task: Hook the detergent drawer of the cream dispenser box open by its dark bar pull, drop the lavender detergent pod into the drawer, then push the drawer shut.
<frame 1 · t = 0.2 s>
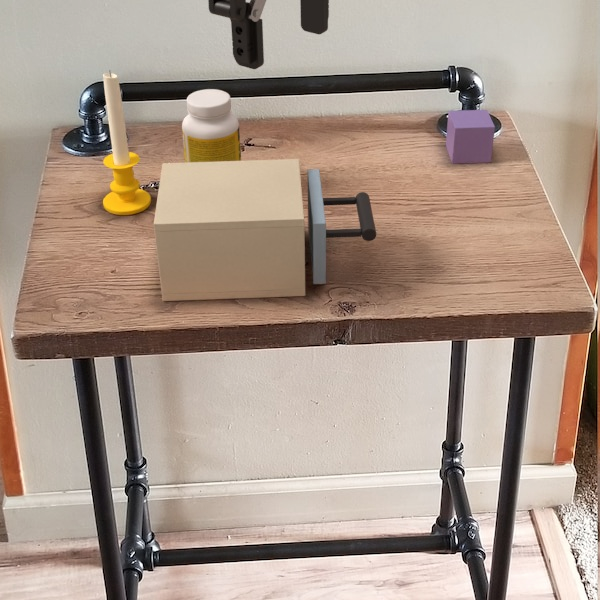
hand: (283, 48, 77), 26 cm above the table, tool pointing down, fingers open, 8 cm apart
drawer: (283, 226, 96), point 4 cm above the table, slide at 0.8 cm
candle: (127, 204, 109), on the table
pill bottle: (215, 190, 111), on the table
dispenser: (234, 264, 98), on the table
pod: (467, 154, 117), on the table
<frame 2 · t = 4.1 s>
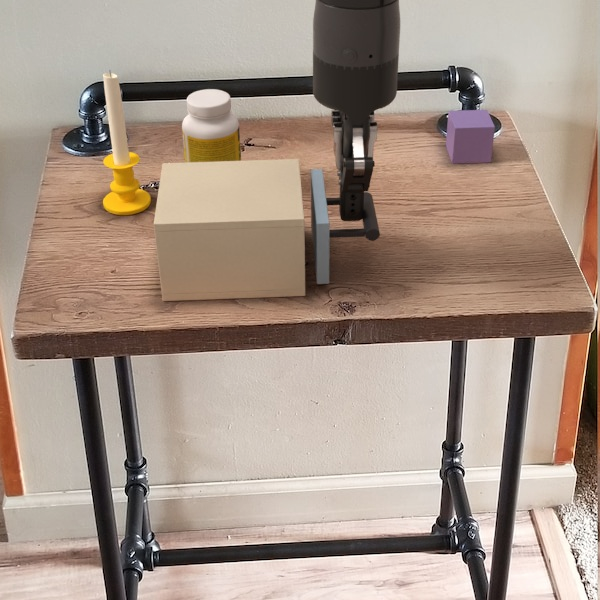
hand: (351, 216, 96), 5 cm above the table, tool pointing down, fingers closed
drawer: (287, 226, 96), point 4 cm above the table, slide at 1.1 cm, touching gripper
everything else where it was.
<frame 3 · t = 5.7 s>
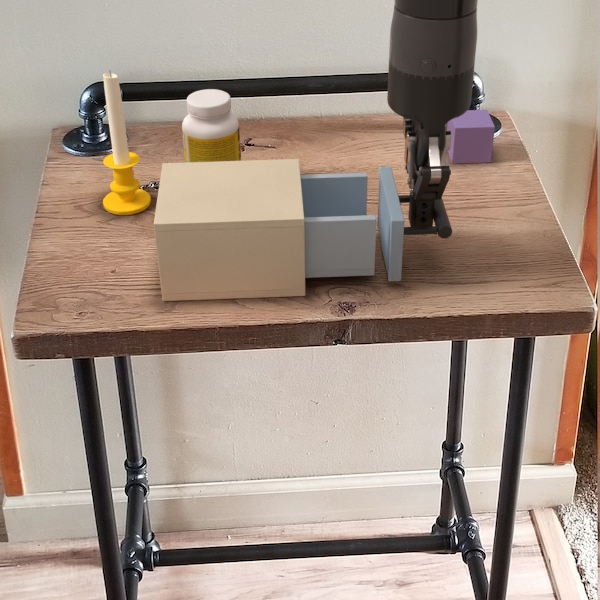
hand: (420, 224, 96), 4 cm above the table, tool pointing down, fingers closed
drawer: (357, 223, 96), point 4 cm above the table, slide at 8.0 cm, touching gripper
everything else where it was.
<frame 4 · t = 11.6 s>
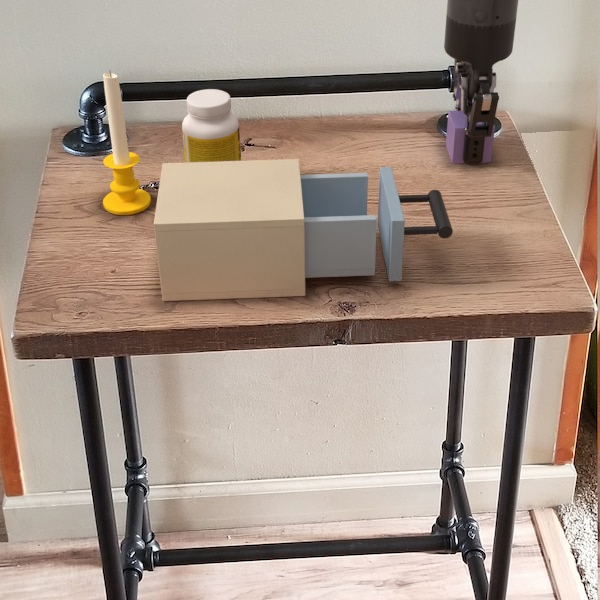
hand: (468, 151, 117), 0 cm above the table, tool pointing down, fingers closed on pod, 4 cm apart
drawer: (357, 223, 96), point 4 cm above the table, slide at 8.1 cm
pod: (467, 154, 117), on the table, touching gripper
everything else where it was.
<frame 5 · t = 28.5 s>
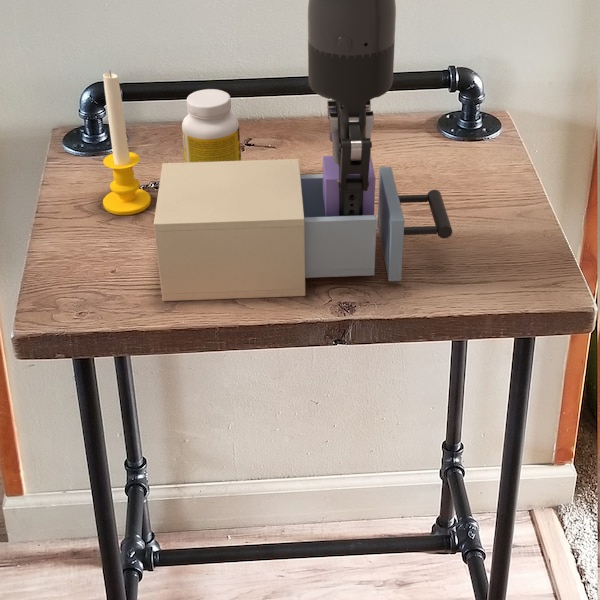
hand: (348, 205, 95), 6 cm above the table, tool pointing down, fingers closed on pod, 4 cm apart
pod: (347, 208, 95), point 6 cm above the table, touching gripper
everything else where it was.
when the fingers open (10 cm above the table, at t = 34.5 s): pod drops 7 cm, resting on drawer.
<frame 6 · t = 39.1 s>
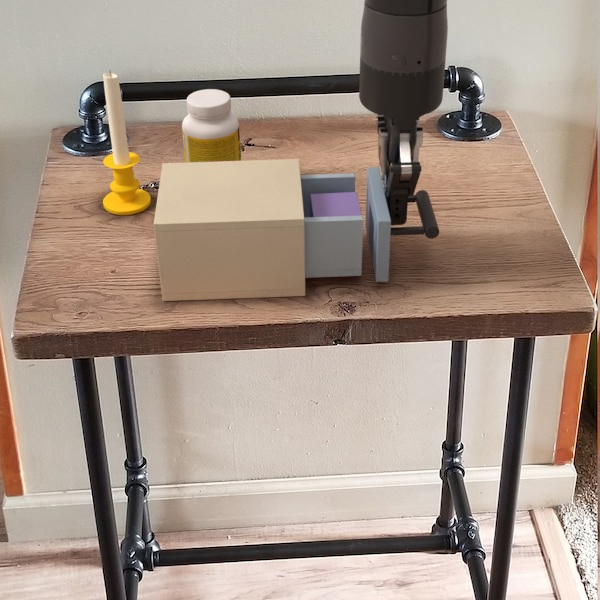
hand: (394, 220, 97), 4 cm above the table, tool pointing down, fingers closed
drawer: (344, 224, 96), point 4 cm above the table, slide at 6.8 cm, touching gripper, pod
pod: (335, 244, 97), point 2 cm above the table, touching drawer
everything else where it was.
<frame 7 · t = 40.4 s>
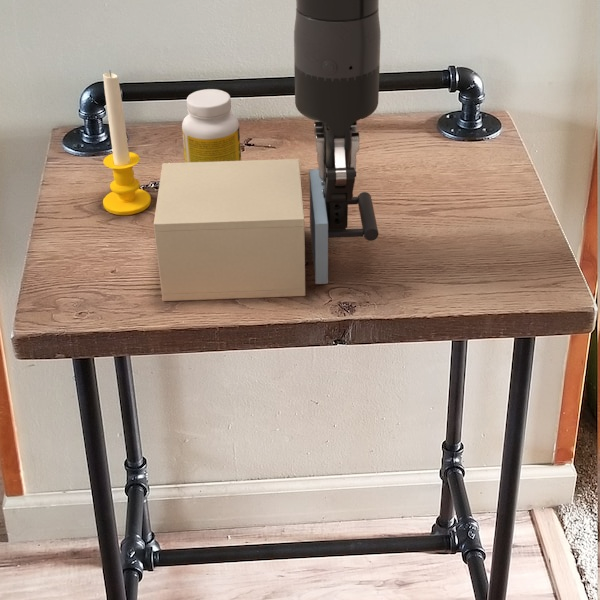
hand: (335, 225, 96), 4 cm above the table, tool pointing down, fingers closed
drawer: (285, 226, 96), point 4 cm above the table, slide at 1.0 cm, touching pod
pod: (276, 246, 97), point 2 cm above the table, touching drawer
everything else where it was.
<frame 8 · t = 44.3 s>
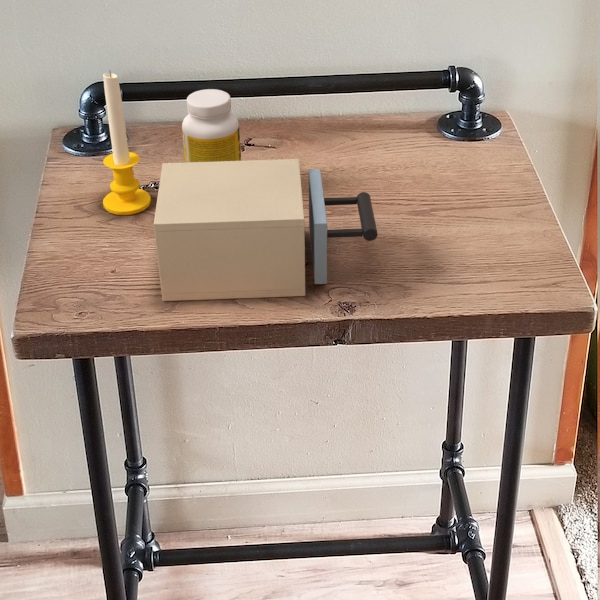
nothing on the table moved.
at the end: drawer pulled out 8.1 cm at the most during the clip, back to 0.9 cm at the end; pod inside the target area in the dispenser (0.3 cm from its centre), point 2.0 cm above the dispenser's base; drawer slide at 0.9 cm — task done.
